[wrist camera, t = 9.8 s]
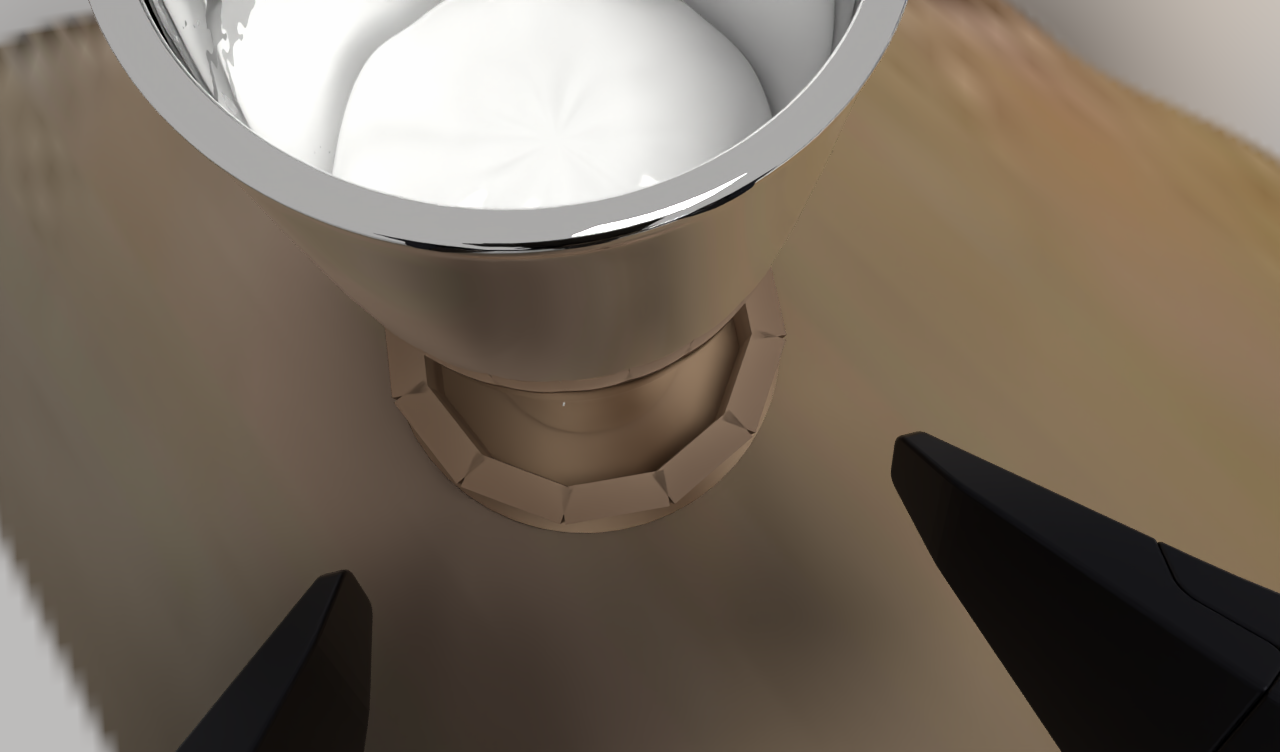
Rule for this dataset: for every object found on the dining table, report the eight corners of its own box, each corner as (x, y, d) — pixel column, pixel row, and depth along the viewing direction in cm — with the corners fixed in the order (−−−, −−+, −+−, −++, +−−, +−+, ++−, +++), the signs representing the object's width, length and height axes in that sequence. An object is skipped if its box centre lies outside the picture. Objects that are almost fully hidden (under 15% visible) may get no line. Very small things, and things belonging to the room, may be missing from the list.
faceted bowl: (558, 618, 18) (550, 636, 16) (321, 311, 20) (281, 286, 17) (852, 363, 20) (883, 346, 18) (615, 100, 22) (615, 53, 19)
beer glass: (433, 313, 19) (-136, -264, 5) (611, 197, 20) (614, -577, 6) (559, 493, 18) (354, 494, 4) (739, 362, 19) (1135, -42, 5)
